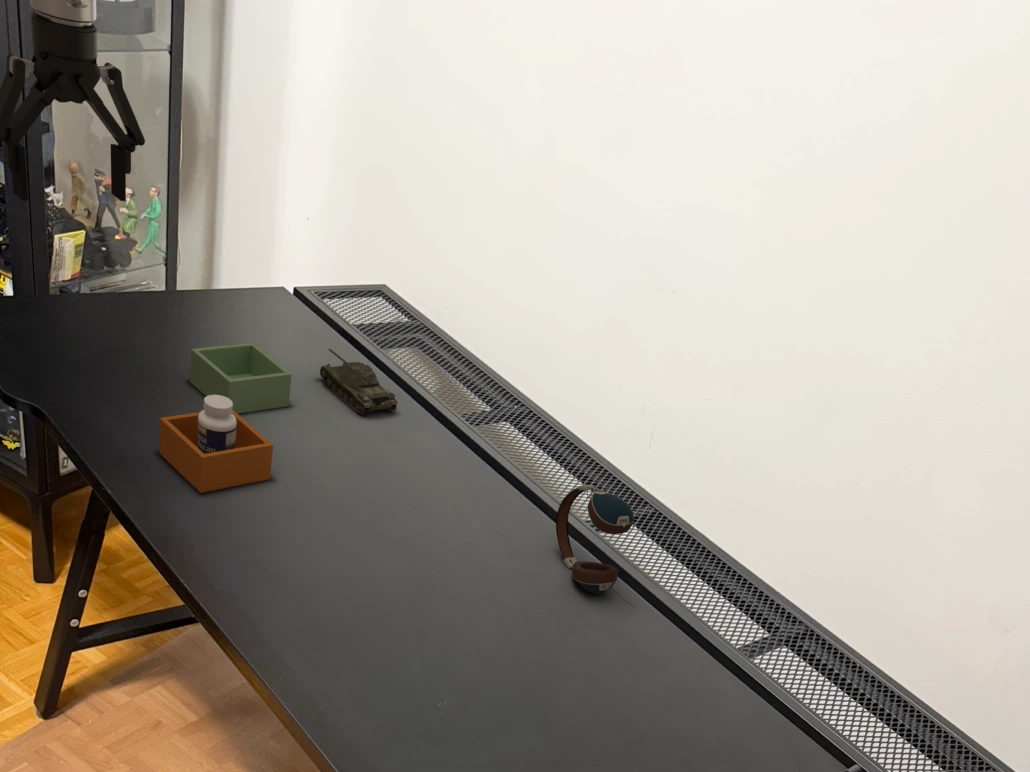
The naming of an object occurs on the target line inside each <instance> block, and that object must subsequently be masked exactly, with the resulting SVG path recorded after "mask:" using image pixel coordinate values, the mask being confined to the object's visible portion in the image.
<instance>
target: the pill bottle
mask: <svg viewBox="0 0 1030 772" xmlns="http://www.w3.org/2000/svg"><path fill="white" fill-rule="evenodd" d="M232 410H233V403H232V401H231V400H230V399H229V398H227V397H224V396H221V395H209V396H205V397H204V399H203V409H202V410H201V411H199V412H200V413H199V416H198V432H197V448H198V449H199V450H200V451H202V452H203V453H204V454H207V453H213V452H218V451H224V450H230V449H235V440H236V426H237V421H236V418H235V416H234V415H233V414H232Z"/></svg>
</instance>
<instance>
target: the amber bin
mask: <svg viewBox="0 0 1030 772" xmlns="http://www.w3.org/2000/svg"><path fill="white" fill-rule="evenodd" d="M200 412H201V411H199V412H191V413H183V414H178V415H171V416H164V417H159V444H158V445H159V454H160V455H161V456H162V458H164V459H165V460H166V461H167V462H168V463H169V464H170V465H171V466H172V467H173V468H174V469H175V470H176V471H177V472H178V473H179V474H180V475H181V476H183V478H184V479H185V480H186V481H187V482H189V483H190V484H191V485H192V486H193V487H194V489H196V490H197V491H198V492H199V493H200V494H203V493H209V492H212V491H217V490H223V489H228V488H232V487H237V486H238V487H239V486H244V485H247V484H248V485H249V484H252V483H253V484H254V483H259V482H262V481H268V480H271V474H272V473H271V472H272V463H273V462H272V461H273V452H274V444H273V443H272V442H270V441H269V440H268V439H267V438H266V437H264V436H263V435H262V434H261V432H259V431H258V430H257V429H256V428H254V427H253V426H252V425H251V424H250V423H249V422H248V421H246V420H245V419H244V418H243V417H242V416H241V415H240V414H237V413H236V412H235V411H233V410H232V414H233V415H234V416H235V418H236V421H237V426H236V440H235V449H230V450H224V451H218V452H213V453H207V454H204V453H203V452H202V451H200V450H199V449H198V448H197V432H198V416H199V413H200Z"/></svg>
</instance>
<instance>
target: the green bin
mask: <svg viewBox="0 0 1030 772" xmlns="http://www.w3.org/2000/svg"><path fill="white" fill-rule="evenodd" d="M189 375H190V376H189V382H190V383H191V384H192V385H193V386H194V388H196V389H197V390H199V391H200V392H201V393H202V394H203V395H204V396H205V397H206V396H209V395H221V396H224V397H227V398H229V399H230V400H231V401H232V403H233V411H235V412H236V413H237V414H238V415H240V414H243V413H252V412H258V411H265V410H271V409H278V408H285V407H289V404H290V397H291V396H290V395H291V385H292V375H293V373H291V372H290V371H289V370H287V369H286V368H285V367H284V366H282V365H281V364H280V363H279V362H278V361H276V360H275V359H274V358H273V357H271V356H270V355H269V354H267V352H265V351H264V350H263V349H261V348H260V347H259V345H257V344H256V343H254V342H248V343H237V344H228V345H227V344H226V345H217V346H216V345H215V346H207V347H196V348H191V349H190V374H189Z"/></svg>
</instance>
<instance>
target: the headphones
mask: <svg viewBox="0 0 1030 772" xmlns="http://www.w3.org/2000/svg"><path fill="white" fill-rule="evenodd" d="M591 490H592V491H591ZM585 491H586V496H587V498H588V499H589V501H588V504H587V513H588V516H589V518H590V521H591V522H592V524H593V525H594V527H595V528H597V530H599V531H601V532H602V533H605V534H608V535H609V534H610V535H621V534H625V533H627V532H629V531H630V530H631V528H632V526H633V524H634V522H635V516H634V512H633V510H632V508H631V506H630V504H628V503H627V502H626V501H625V500H623V499H622V498H620V497H619V496H617V495H615V494H613V493H610V492H608V491H603V490H602V489H600V488H598V487H595V485H593V484H585V485H584V484H583V485H578V486H577V487H574V488H573V489H572V490H570V491H569V492H568V493H567V494H565V496H564V498H563V499H562V501H561V502H560V504H559V506H558V508H557V512H556V517H555V533H556V540H557V544H558V547H559V551H560V552H561V555H562V557H563V563H564V564H565V565H566V567H567V569H572V570H571V576H572V578H573V579H574V580H575V581H576V583H577V584H578V585H579V586H580V587H582V589H584V590H585V591H587V592H588V593H591V594H594V595H600V594H604V593H606V592H607V591H609V590H610V589H612V590H613V591H614V592H615V593H616V594H618V591H616V590H615V589H614V588H613V586H614V585H615V584H616V582H617V581H618V577H619V569H618V567H616V566H614V565H610V564H607V563H601V562H595V561H588V560H587V561H586V560H585V561H577V557H575V556H574V553H573V549H572V545H571V541H570V535H569V514H570V511H571V508H572V506H573V504H574V502H575V500H576V499H577V498H578V497H579V496H580V495H581V494H582V493H584V492H585ZM588 491H591V493H590V494H589V493H588ZM619 596H620V597H621V598H622V599H623V600H624V601H625V602H626V603H628V604H629V605H630V606H632V607H633V608H634V609H636V607H635V606H634V605H632V604H631V603H630V602H628V601H627V600H626V599H624V597H623V596H622V595H620V594H619Z"/></svg>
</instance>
